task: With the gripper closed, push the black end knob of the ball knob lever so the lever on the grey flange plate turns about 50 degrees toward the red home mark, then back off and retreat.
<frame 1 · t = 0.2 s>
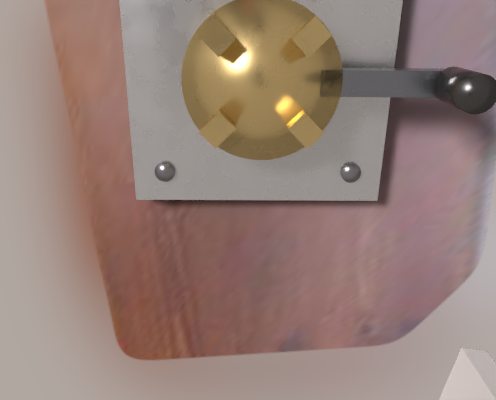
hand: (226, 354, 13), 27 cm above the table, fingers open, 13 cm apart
flange plate: (259, 73, 37), on the table
ball knob lever: (327, 84, 31), point 6 cm above the table, hinge at 0.0°
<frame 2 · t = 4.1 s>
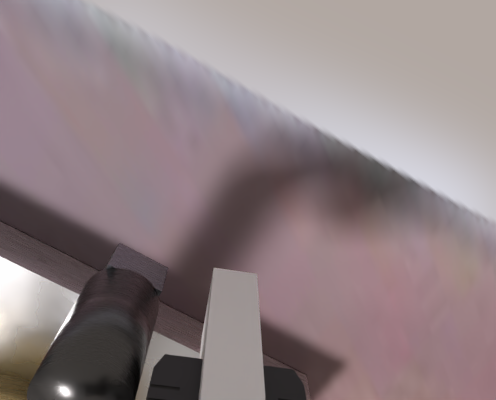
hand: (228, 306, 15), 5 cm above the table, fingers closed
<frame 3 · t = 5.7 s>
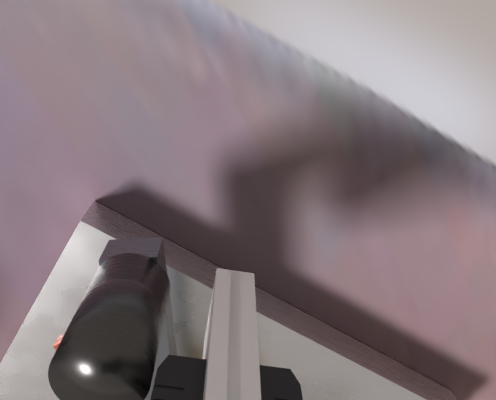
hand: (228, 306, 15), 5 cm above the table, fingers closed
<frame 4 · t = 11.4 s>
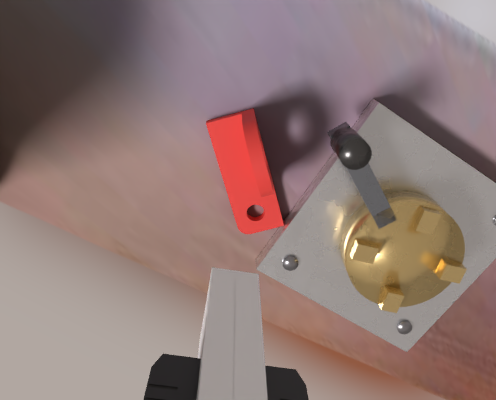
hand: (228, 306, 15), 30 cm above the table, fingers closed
flange plate: (388, 232, 48), on the table
ball knob lever: (388, 223, 41), point 6 cm above the table, hinge at 63.0°
bracket: (246, 172, 46), on the table
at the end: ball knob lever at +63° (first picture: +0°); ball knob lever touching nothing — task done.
